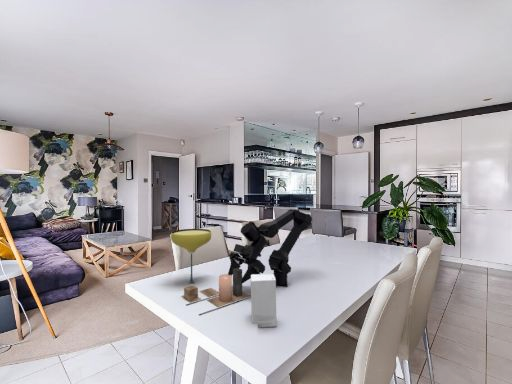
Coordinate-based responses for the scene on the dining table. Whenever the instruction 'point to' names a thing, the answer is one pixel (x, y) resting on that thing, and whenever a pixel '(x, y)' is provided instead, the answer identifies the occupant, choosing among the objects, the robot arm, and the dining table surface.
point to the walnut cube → (190, 292)
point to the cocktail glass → (191, 241)
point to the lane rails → (216, 308)
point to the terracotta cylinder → (225, 288)
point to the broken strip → (206, 292)
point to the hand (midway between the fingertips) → (234, 279)
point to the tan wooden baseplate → (237, 290)
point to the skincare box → (263, 300)
